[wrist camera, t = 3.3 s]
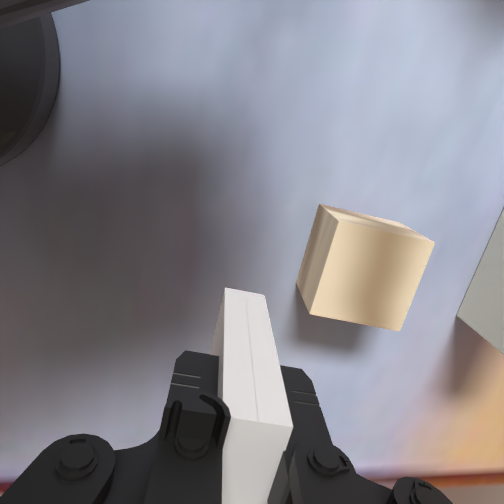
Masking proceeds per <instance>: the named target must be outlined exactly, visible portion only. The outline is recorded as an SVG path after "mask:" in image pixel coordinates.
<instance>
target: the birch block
mask: <svg viewBox="0 0 504 504" xmlns="http://www.w3.org/2000/svg"><path fill="white" fill-rule="evenodd" d="M434 244H435V242H433V241H431V240H430V239H428V238H426V237H424V236H422V235H421V234H419V233H417V232H415V231H414V230H412V229H410V228H408V227H407V226H405V225H403V224H401V223H399V222H395V221H391V220H386V219H382V218H378V217H373V216H369V215H365V214H360V213H356V212H352V211H347V210H343V209H339V208H334V207H330V206H326V205H321V204H319V207H318V210H317V213H316V217H315V220H314V224H313V227H312V230H311V234H310V237H309V241H308V244H307V247H306V251H305V254H304V258H303V261H302V264H301V268H300V271H299V275H298V278H297V281H296V284H297V286H298V289H299V291H300V293H301V296H302V298H303V300H304V303H305V305H306V307H307V310H308V312H309V314H311V315H316V316H322V317H327V318H332V319H337V320H343V321H348V322H353V323H358V324H364V325H369V326H374V327H379V328H385V329H390V330H395V331H400V330H401V327H402V325H403V322H404V320H405V317H406V315H407V312H408V310H409V307H410V305H411V302H412V300H413V297H414V295H415V292H416V289H417V287H418V284H419V282H420V279H421V277H422V274H423V272H424V269H425V267H426V264H427V262H428V259H429V257H430V254H431V252H432V249H433V247H434Z"/></svg>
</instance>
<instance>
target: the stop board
mask: <svg viewBox="0 0 504 504" xmlns="http://www.w3.org/2000/svg"><path fill="white" fill-rule="evenodd" d="M457 316H458V317H459V318H460V319H462V320H463V321H464V322H465V323H466V324H468V325H469V326H470V327H471V328H472V329H474V330H475V331H476V332H477V333H478V334H480V335H481V336H482V337H483V338H484V339H486V340H487V341H488V342H489V343H490V344H492V345H493V346H494V347H495V348H496V349H498V350H499V351H500V352H501V353H502V354H504V209H503V211H502V213H501V216H500V218H499V220H498V222H497V225H496V227H495V229H494V231H493V234H492V236H491V238H490V240H489V243H488V245H487V247H486V250H485V252H484V254H483V256H482V259H481V261H480V263H479V265H478V268H477V270H476V272H475V274H474V277H473V279H472V281H471V283H470V286H469V288H468V290H467V293H466V295H465V297H464V299H463V302H462V304H461V306H460V308H459V311H458V313H457Z"/></svg>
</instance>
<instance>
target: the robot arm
mask: <svg viewBox="0 0 504 504" xmlns="http://www.w3.org/2000/svg"><path fill="white" fill-rule="evenodd" d="M86 1H89V0H0V166H1V165H3V164H5V163H7V162H8V161H10V160H12V159H13V158H15V157H16V156H18V155H19V154H20V153H21V152H22V151H24V150H25V149H26V148H27V147H28V146H29V145H30V144H31V143H32V142H33V140H34V139H35V138H36V137H37V136H38V134H39V133H40V131H41V130H42V128H43V126H44V125H45V123H46V121H47V119H48V117H49V115H50V112H51V110H52V107H53V104H54V100H55V97H56V92H57V87H58V80H59V49H58V41H57V35H56V30H55V26H54V22H53V18H52V15H51V12H54V11H57V10H60V9H63V8H67V7H70V6H73V5H76V4H79V3H82V2H86ZM0 504H452V502H451V501H450V500H449V499H448V498H447V497H446V496H445V495H444V494H443V493H442V492H441V491H440V490H438V489H437V488H435V487H434V486H432V485H431V484H429V483H428V482H425V481H423V480H420V479H418V478H413V477H403V478H401V479H398V480H397V482H396V483H395V485H394V487H393V489H392V490H391V489H389V488H387V487H384V486H382V485H379V484H377V483H375V482H372V481H370V480H367V479H365V478H364V477H362V476H360V475H358V474H356V472H355V469H354V467H353V465H352V463H351V461H350V460H349V458H348V457H347V456H346V455H345V454H344V453H343V452H342V451H341V450H340V449H339V448H337V447H336V446H334V445H333V444H332V441H331V438H330V435H329V432H328V429H327V426H326V423H325V420H324V417H323V414H322V411H321V407H319V401H318V398H317V396H316V392H315V389H314V386H313V383H312V381H311V379H310V378H309V377H308V376H307V375H306V374H305V372H304V371H303V370H302V369H298V368H293V367H287V366H281V365H280V364H279V359H278V355H277V350H276V345H275V341H274V336H273V332H272V327H271V322H270V318H269V313H268V308H267V304H266V299H265V295H262V294H256V293H251V292H246V291H241V290H236V289H231V288H226V287H225V289H224V294H223V298H222V302H221V306H220V311H219V315H218V319H217V324H216V328H215V332H214V337H213V341H212V345H211V349H210V355H209V354H203V353H197V352H191V351H185V352H183V353H182V354H181V355H180V356H179V357H178V358H177V359H176V362H175V367H174V371H173V376H172V380H171V385H170V389H169V394H168V398H167V403H166V405H165V407H164V412H163V417H162V422H161V427H160V430H159V431H158V432H157V434H156V435H155V436H154V437H153V438H152V439H150V440H149V441H148V442H146V443H144V444H142V445H139V446H137V447H132V448H128V449H122V450H113V448H112V447H111V446H110V444H109V443H108V442H107V441H105V440H104V439H102V438H100V437H98V436H95V435H89V434H77V435H69V436H67V437H64V438H62V439H59V440H57V441H55V442H53V443H52V444H51V445H49V446H48V447H47V448H46V449H44V450H43V451H42V452H41V453H40V454H39V456H38V457H37V458H36V459H35V460H34V461H33V462H32V463H31V464H30V465H29V466H28V468H27V469H26V470H25V471H24V472H23V473H22V474H21V475H20V476H19V477H18V478H17V479H16V481H15V482H14V483H13V484H12V485H11V486H10V487H9V488H8V489H7V490H6V491H5V492H4V494H3V495H2V496H1V497H0Z"/></svg>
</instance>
